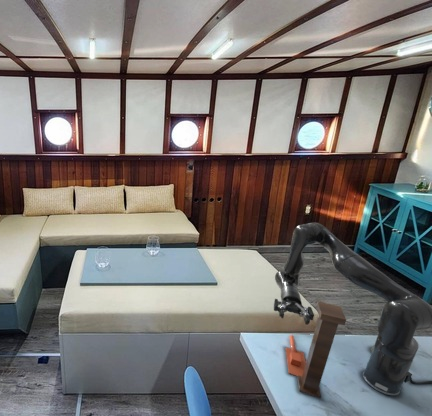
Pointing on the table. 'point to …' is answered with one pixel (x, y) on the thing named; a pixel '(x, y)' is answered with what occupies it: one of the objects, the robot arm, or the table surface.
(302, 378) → the wooden square pillar
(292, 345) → the orange toy mallet
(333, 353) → the table surface
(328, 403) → the table surface
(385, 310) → the robot arm
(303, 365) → the terracotta mat
